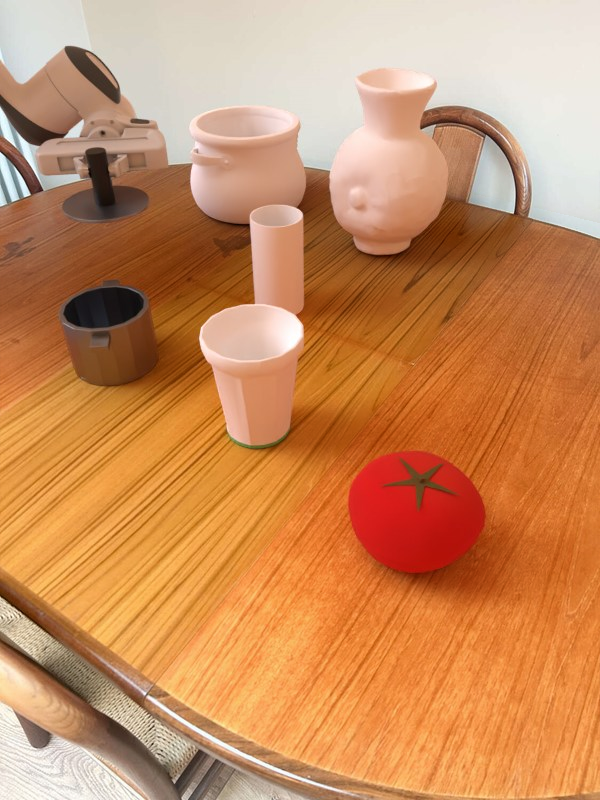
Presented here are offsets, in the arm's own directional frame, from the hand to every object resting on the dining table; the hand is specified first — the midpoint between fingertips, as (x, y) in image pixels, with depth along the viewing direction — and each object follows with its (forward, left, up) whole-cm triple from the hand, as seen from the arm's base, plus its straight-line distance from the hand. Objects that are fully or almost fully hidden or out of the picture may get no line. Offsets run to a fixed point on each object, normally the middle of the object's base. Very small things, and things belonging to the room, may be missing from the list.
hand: (99, 173), depth 99 cm
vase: (+48, +13, -22) cm, 54 cm away
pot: (+24, +36, -22) cm, 48 cm away
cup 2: (+20, -36, -22) cm, 47 cm away
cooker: (0, -18, -22) cm, 28 cm away
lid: (0, +1, -5) cm, 5 cm away
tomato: (+35, -57, -22) cm, 71 cm away
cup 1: (+26, -6, -22) cm, 35 cm away
